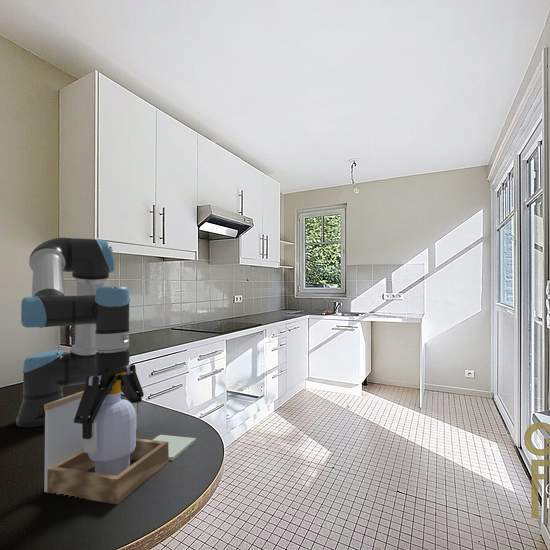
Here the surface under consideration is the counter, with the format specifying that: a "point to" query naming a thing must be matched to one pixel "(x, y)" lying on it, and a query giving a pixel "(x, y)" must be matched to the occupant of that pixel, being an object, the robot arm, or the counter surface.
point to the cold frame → (104, 487)
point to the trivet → (176, 444)
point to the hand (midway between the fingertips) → (112, 439)
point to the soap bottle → (114, 433)
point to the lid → (62, 431)
